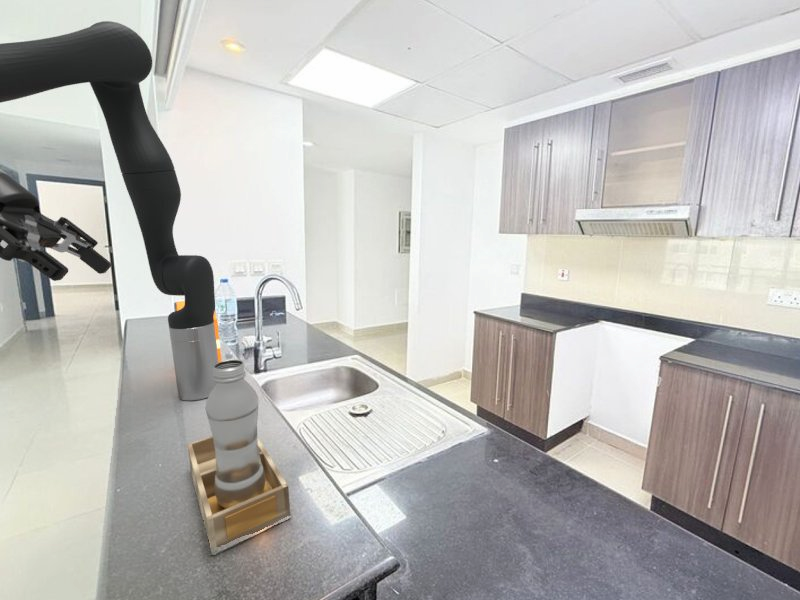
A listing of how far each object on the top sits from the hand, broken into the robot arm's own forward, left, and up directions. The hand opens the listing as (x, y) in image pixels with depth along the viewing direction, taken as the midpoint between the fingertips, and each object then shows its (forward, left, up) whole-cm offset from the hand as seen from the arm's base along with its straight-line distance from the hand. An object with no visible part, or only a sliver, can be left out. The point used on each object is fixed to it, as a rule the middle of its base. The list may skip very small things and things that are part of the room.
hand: (86, 272), depth 52 cm
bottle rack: (+16, +14, -33) cm, 39 cm away
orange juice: (-44, +18, -33) cm, 57 cm away
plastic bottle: (+20, +14, -31) cm, 40 cm away
